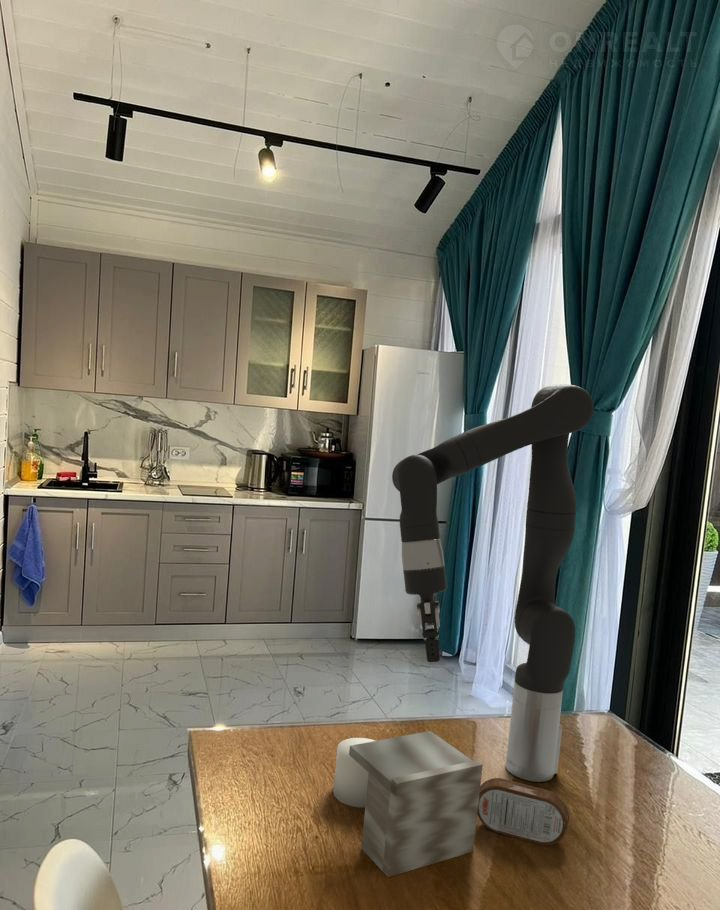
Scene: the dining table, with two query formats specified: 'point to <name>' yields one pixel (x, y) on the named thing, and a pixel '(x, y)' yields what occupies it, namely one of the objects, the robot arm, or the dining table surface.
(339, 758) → the paper roll
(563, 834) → the tin
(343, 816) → the dining table surface
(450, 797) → the overhanging lid box
